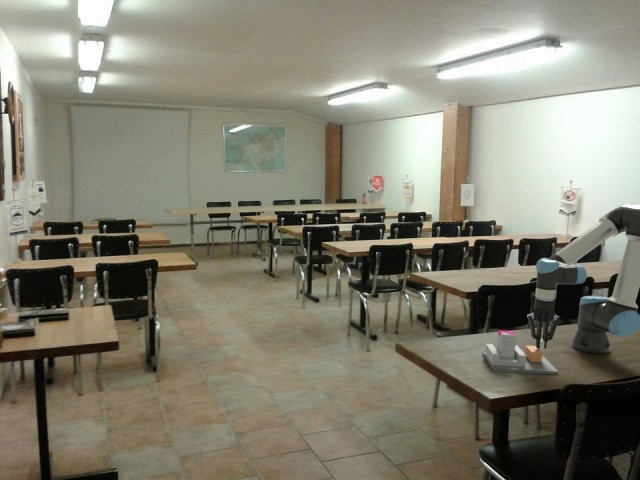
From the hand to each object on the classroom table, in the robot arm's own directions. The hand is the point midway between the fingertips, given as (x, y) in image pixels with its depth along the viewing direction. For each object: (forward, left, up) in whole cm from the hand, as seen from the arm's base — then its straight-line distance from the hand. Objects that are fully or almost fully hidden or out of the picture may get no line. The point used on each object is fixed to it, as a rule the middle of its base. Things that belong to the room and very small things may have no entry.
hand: (540, 355), depth 218 cm
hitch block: (+9, +3, -3) cm, 10 cm away
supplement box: (+14, +3, -2) cm, 15 cm away
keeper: (+3, 0, -1) cm, 3 cm away
